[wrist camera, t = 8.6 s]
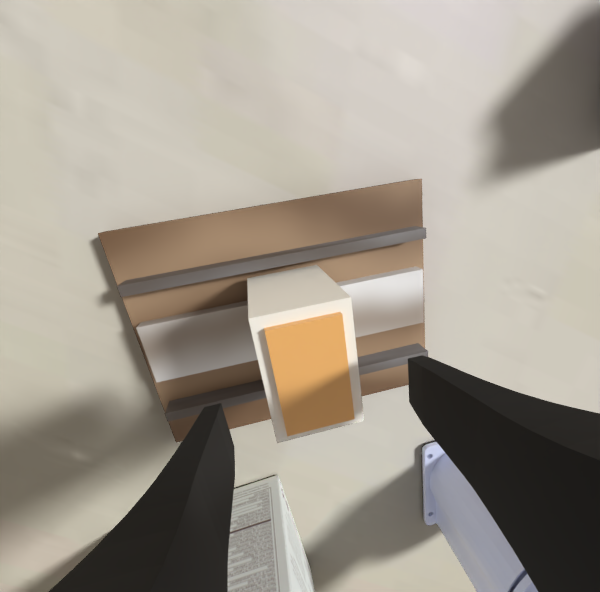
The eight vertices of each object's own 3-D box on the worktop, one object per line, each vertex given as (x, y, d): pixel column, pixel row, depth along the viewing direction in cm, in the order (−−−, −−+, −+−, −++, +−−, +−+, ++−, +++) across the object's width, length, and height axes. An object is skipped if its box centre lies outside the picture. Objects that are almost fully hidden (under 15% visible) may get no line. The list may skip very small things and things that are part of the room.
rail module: (329, 355, 19) (366, 425, 13) (267, 369, 19) (277, 448, 13) (316, 264, 17) (353, 299, 11) (247, 278, 17) (248, 321, 11)
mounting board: (418, 372, 23) (435, 390, 21) (179, 431, 21) (172, 456, 19) (412, 179, 19) (433, 177, 17) (106, 231, 17) (86, 236, 15)
